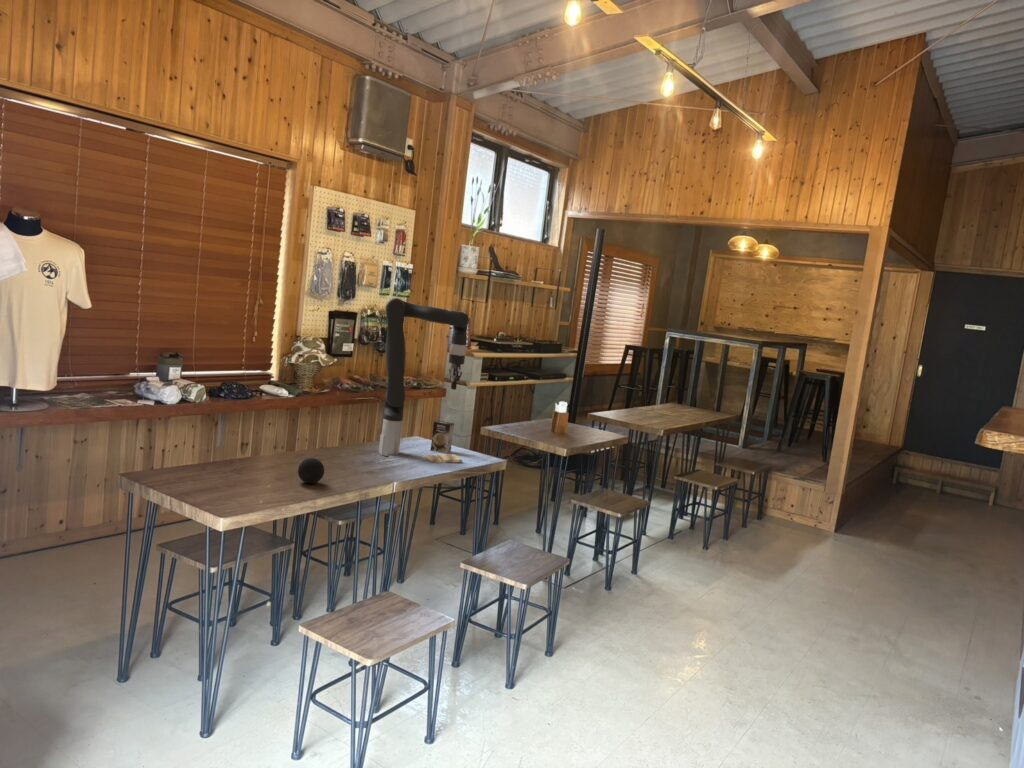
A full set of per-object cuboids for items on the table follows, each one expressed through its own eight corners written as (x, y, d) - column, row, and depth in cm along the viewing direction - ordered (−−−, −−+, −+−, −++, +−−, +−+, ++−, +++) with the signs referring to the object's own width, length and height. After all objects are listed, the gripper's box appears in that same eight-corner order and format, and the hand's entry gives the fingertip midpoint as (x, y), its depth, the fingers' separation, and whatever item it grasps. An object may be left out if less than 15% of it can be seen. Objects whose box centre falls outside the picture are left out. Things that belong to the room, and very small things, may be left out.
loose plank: (443, 462, 344) (444, 460, 344) (436, 457, 354) (437, 454, 354) (461, 462, 347) (462, 459, 347) (454, 456, 357) (454, 454, 357)
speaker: (328, 484, 286) (330, 460, 285) (306, 487, 278) (308, 462, 277) (313, 478, 292) (315, 454, 291) (291, 481, 285) (293, 456, 284)
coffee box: (429, 452, 367) (433, 421, 365) (434, 450, 373) (438, 419, 371) (446, 455, 364) (449, 424, 363) (451, 453, 370) (454, 422, 369)
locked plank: (431, 463, 341) (431, 460, 341) (424, 457, 351) (424, 455, 351) (443, 463, 344) (443, 460, 344) (436, 457, 354) (436, 455, 354)
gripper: (445, 351, 354) (441, 386, 356) (454, 354, 342) (450, 390, 344) (460, 352, 357) (456, 387, 359) (469, 355, 345) (465, 391, 347)
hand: (453, 389), depth 351 cm, fingers closed
